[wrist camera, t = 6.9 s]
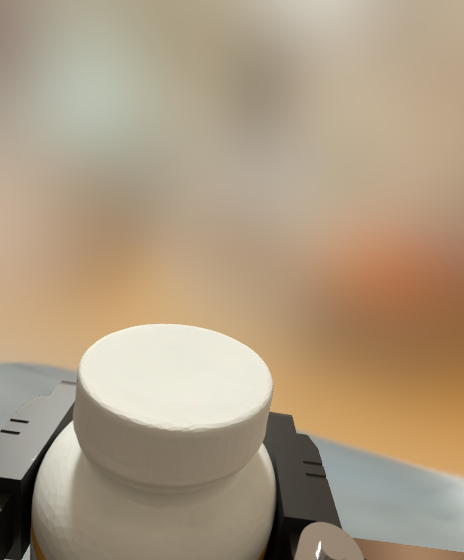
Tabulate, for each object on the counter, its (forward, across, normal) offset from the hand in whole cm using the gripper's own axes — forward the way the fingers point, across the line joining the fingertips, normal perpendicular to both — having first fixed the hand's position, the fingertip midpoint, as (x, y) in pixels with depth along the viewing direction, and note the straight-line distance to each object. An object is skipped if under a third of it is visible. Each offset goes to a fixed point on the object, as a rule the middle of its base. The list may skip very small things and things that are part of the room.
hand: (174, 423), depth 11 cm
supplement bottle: (-3, 0, +6) cm, 7 cm away
